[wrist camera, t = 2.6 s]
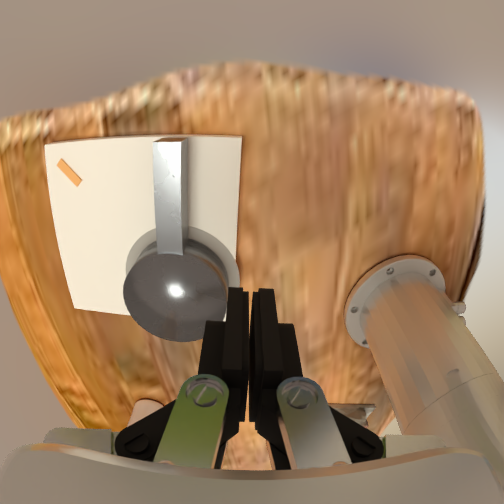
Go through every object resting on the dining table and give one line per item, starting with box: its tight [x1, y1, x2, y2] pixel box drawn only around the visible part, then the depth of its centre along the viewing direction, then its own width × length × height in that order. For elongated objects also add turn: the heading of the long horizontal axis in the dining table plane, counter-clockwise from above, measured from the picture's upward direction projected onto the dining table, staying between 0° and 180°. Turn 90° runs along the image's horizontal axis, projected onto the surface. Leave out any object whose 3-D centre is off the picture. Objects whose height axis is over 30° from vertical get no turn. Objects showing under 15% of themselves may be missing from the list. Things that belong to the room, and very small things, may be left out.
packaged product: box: [328, 404, 376, 428], centre depth 43 cm, size 18×5×10 cm
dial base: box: [45, 134, 242, 321], centre depth 27 cm, size 18×18×2 cm
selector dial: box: [123, 138, 229, 342], centre depth 25 cm, size 18×9×3 cm, turn 176°
